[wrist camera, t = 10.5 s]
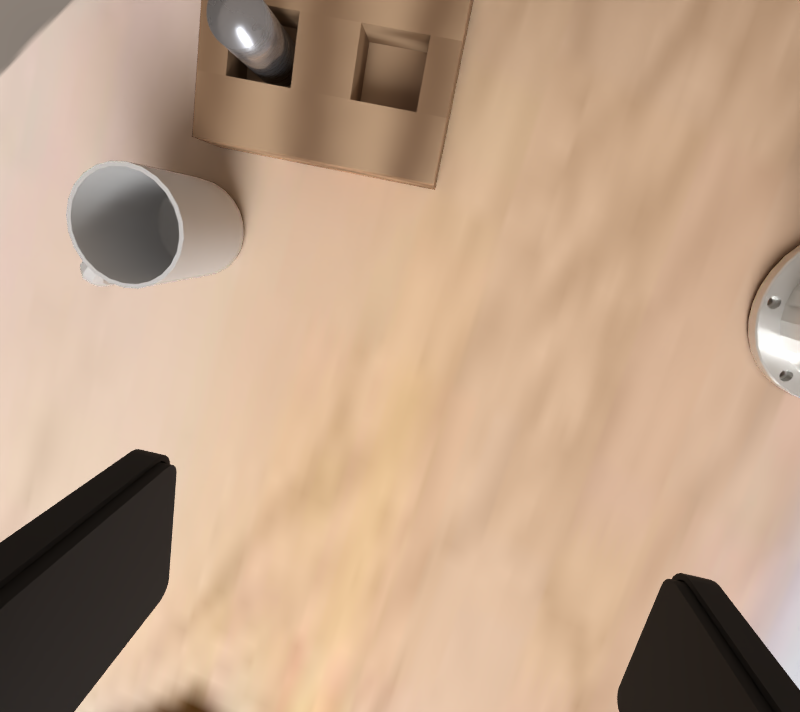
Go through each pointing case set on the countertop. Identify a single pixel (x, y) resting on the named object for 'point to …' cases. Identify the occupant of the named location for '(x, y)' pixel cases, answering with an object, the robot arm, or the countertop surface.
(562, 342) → the countertop surface
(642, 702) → the robot arm
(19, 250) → the countertop surface
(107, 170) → the cup
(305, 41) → the bore block
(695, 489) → the countertop surface
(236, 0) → the dowel
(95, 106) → the countertop surface
